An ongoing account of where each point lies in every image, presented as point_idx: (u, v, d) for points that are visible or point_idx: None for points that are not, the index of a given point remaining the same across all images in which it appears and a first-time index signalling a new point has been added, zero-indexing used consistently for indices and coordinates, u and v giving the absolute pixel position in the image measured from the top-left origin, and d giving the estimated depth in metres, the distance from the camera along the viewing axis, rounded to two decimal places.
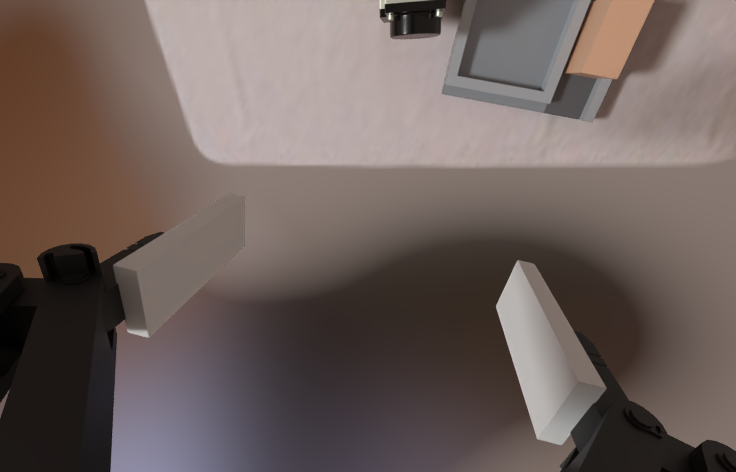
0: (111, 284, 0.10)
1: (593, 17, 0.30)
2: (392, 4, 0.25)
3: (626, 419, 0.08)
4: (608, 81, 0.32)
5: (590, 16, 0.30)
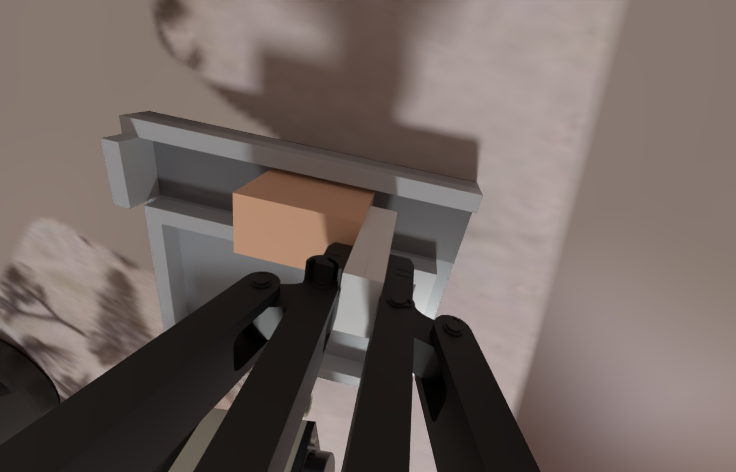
0: None
1: None
2: None
3: (389, 305, 0.10)
4: (406, 184, 0.17)
5: None
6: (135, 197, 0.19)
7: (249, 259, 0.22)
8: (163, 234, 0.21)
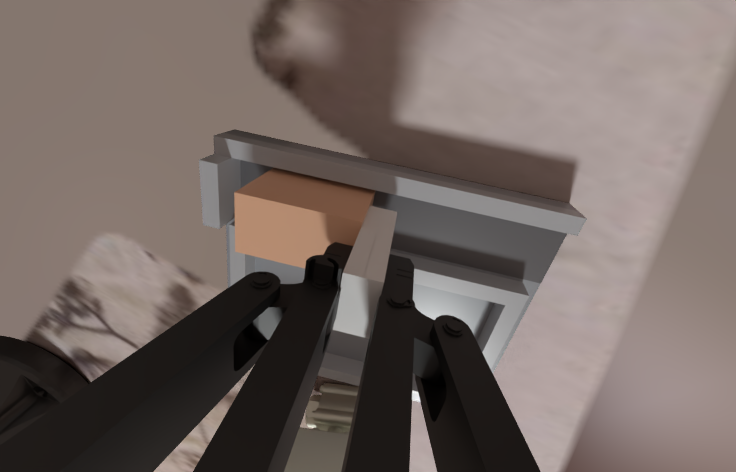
0: None
1: None
2: None
3: (389, 305, 0.10)
4: (508, 206, 0.17)
5: None
6: (224, 217, 0.19)
7: None
8: None
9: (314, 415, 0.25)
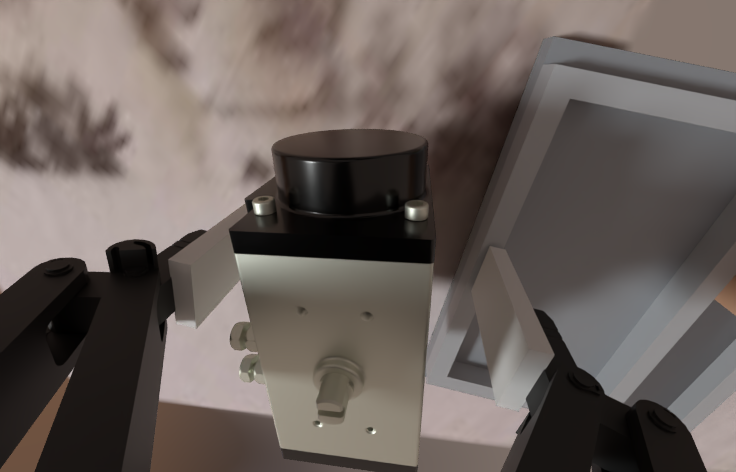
0: (165, 278, 0.10)
1: None
2: (297, 451, 0.11)
3: (569, 382, 0.09)
4: (707, 411, 0.19)
5: None
6: None
7: (652, 236, 0.16)
8: None
9: None
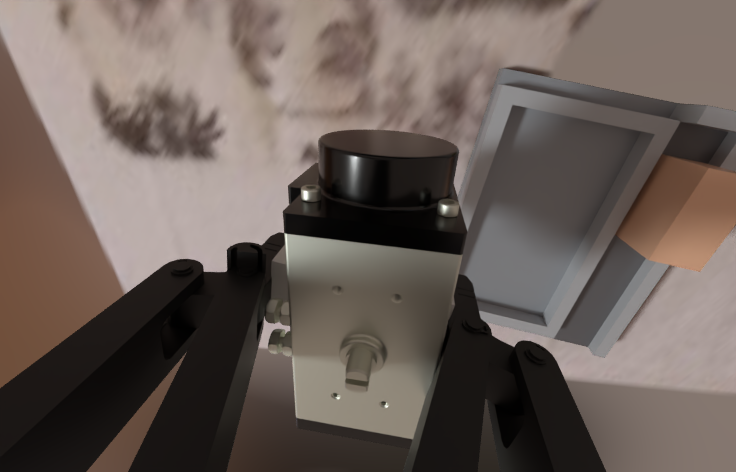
0: (267, 277, 0.11)
1: (664, 180, 0.21)
2: (311, 422, 0.12)
3: (464, 329, 0.10)
4: (625, 322, 0.27)
5: (658, 176, 0.21)
6: (699, 124, 0.19)
7: (575, 194, 0.24)
8: (641, 130, 0.21)
9: None
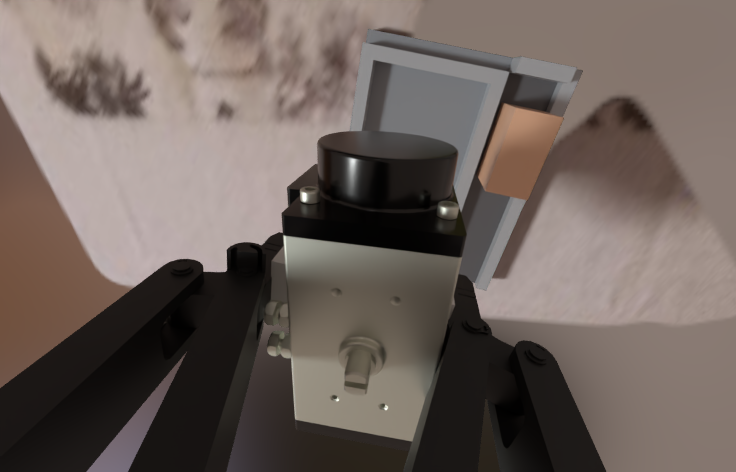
0: (267, 277, 0.11)
1: (501, 124, 0.25)
2: (310, 423, 0.12)
3: (464, 329, 0.10)
4: (497, 257, 0.31)
5: (499, 121, 0.25)
6: (521, 73, 0.23)
7: None
8: (480, 81, 0.24)
9: None
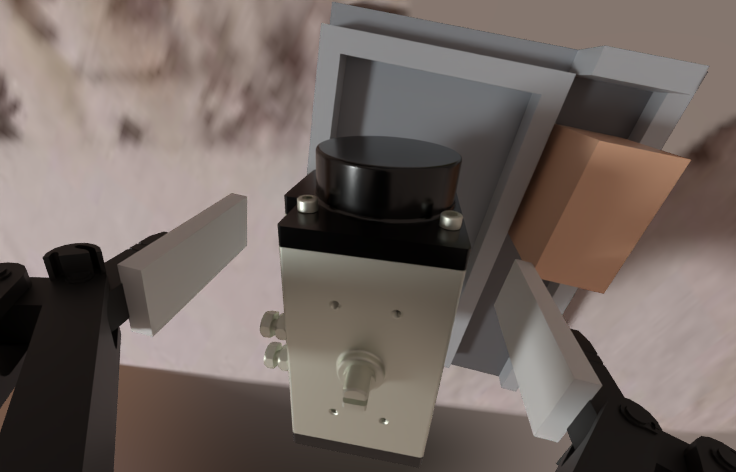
0: (115, 283, 0.10)
1: (557, 162, 0.14)
2: (309, 437, 0.12)
3: (621, 416, 0.08)
4: None
5: (552, 156, 0.15)
6: (599, 77, 0.13)
7: None
8: (522, 89, 0.14)
9: None
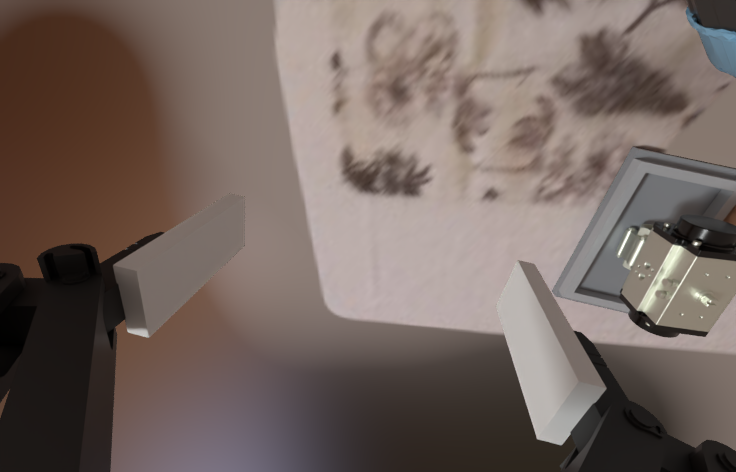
0: (111, 284, 0.10)
1: None
2: (662, 326, 0.31)
3: (626, 419, 0.08)
4: None
5: (733, 214, 0.35)
6: None
7: None
8: (725, 189, 0.34)
9: None
